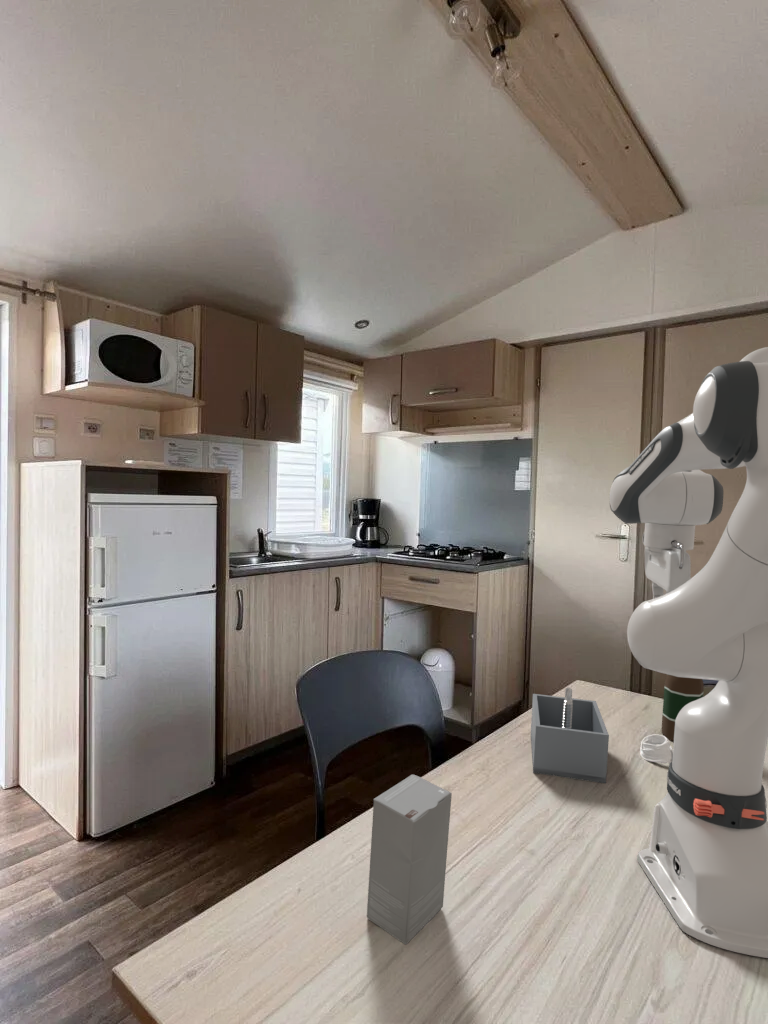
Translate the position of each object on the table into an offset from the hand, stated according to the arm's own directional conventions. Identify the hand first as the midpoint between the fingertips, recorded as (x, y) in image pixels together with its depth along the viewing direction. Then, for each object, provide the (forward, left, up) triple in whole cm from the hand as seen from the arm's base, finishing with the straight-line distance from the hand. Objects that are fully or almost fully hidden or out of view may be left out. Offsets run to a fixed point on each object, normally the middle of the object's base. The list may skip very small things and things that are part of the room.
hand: (663, 609), depth 116 cm
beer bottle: (+16, -9, -31) cm, 36 cm away
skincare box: (-54, +40, -31) cm, 74 cm away
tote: (-2, +17, -31) cm, 35 cm away
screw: (-1, +17, -30) cm, 35 cm away
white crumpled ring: (+3, -2, -32) cm, 32 cm away
